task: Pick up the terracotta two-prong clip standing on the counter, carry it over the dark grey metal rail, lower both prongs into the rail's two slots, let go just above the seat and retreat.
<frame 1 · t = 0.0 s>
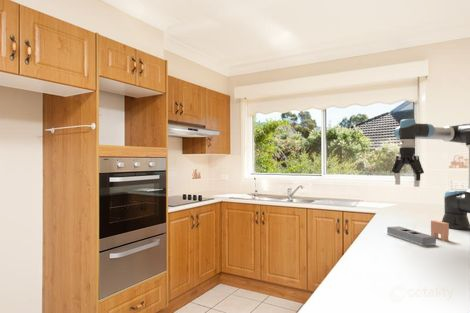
hand: (406, 185, 170), 28 cm above the countertop, fingers open, 13 cm apart
rail: (409, 239, 163), on the countertop
clip: (439, 238, 165), on the countertop
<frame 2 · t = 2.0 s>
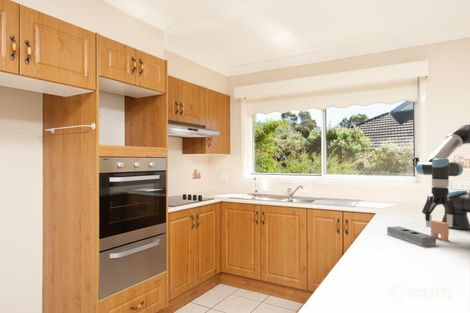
hand: (439, 226, 164), 6 cm above the countertop, fingers open, 13 cm apart
nothing on the countertop moved.
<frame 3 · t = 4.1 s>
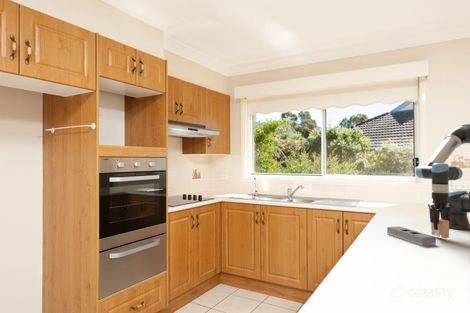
hand: (440, 235, 165), 2 cm above the countertop, fingers closed on clip, 3 cm apart
clip: (440, 236, 165), point 1 cm above the countertop, touching gripper
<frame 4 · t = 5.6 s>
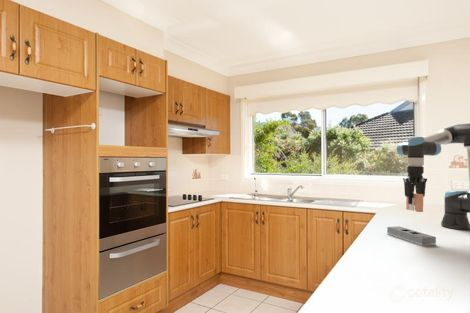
hand: (414, 210, 163), 15 cm above the countertop, fingers closed on clip, 3 cm apart
clip: (414, 210, 163), point 15 cm above the countertop, touching gripper
when the fingers open (5 cm above the countertop, at t = 7.3 s): clip drops 3 cm, resting on rail.
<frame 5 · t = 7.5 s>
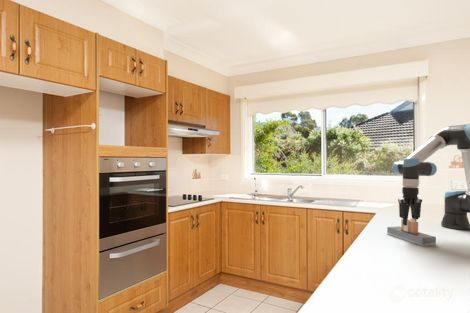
hand: (409, 231, 162), 4 cm above the countertop, fingers open, 3 cm apart
clip: (409, 237, 162), point 1 cm above the countertop, touching rail
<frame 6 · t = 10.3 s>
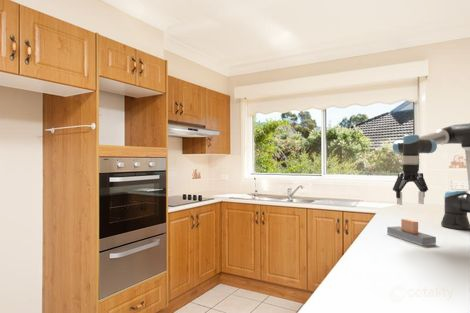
hand: (410, 204, 163), 19 cm above the countertop, fingers open, 13 cm apart
nothing on the countertop moved.
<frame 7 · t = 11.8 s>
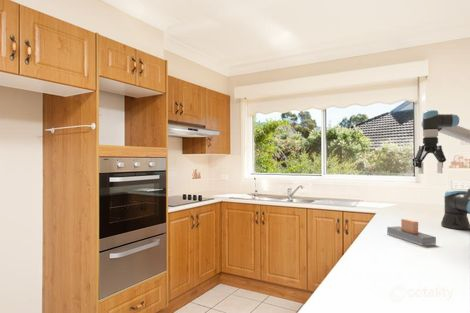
hand: (430, 173, 180), 34 cm above the countertop, fingers open, 13 cm apart
nothing on the countertop moved.
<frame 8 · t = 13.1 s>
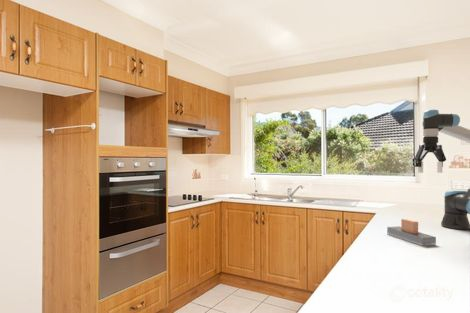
hand: (430, 172, 180), 35 cm above the countertop, fingers open, 13 cm apart
nothing on the countertop moved.
at the end: clip 0.3 cm off-centre on the rail, point 1.0 cm above the rail's base; clip tilted 0°; the gripper is holding nothing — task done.
